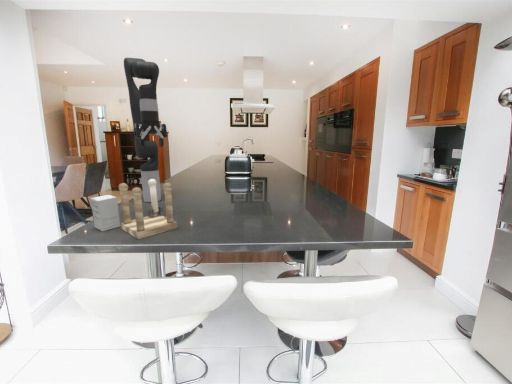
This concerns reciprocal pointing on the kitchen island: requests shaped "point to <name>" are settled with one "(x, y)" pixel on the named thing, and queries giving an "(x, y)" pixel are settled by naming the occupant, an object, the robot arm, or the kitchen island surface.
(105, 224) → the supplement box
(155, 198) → the folding leg
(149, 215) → the wooden post rack
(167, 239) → the kitchen island surface
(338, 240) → the kitchen island surface
